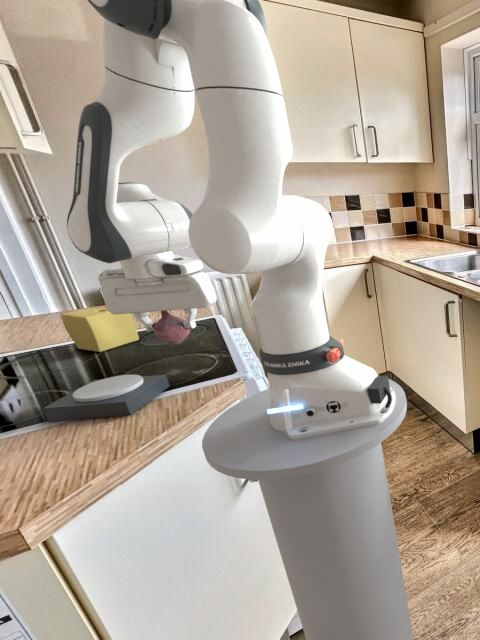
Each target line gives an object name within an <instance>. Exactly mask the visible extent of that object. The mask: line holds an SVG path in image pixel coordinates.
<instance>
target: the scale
mask: <svg viewBox="0 0 480 640" xmlns="http://www.w3.org/2000/svg"><path fill="white" fill-rule="evenodd" d="M170 387H171V385H170V382H169V380H168V376H167V374H156V375H143V376H141V375H139V374H122V375H115V376H110V377H106V378H102V379H92V380H91V381H90V382H88V383H86V384H84V385H83V386H81V387H79V388H77V389H75V390H73V391H71V392H69V393H68V394H66V395H64V396H63V397H61V398H58V399H57V400H55V401H53V402H51V403H49V404H47V405H46V406H44V407H42V412H43V414H44V415H45V418H46V419H47V422H48V423H49V422H59V421H71V420H74V421H75V420H84V419H95V418H96V419H97V418H108V417H119V416H120V417H121V416H131V415H132V414H134V413H135V412H137V411H138V410H139V409H141V408H142V407H143V406H145V405H146V404H147V403H149V402H150V401H151V400H153V399H154V398H156V397H157V396H159V395H160V394H161V393H162V392H164V391H166V390H167V389H168V388H170Z"/></svg>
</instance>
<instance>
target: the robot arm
mask: <svg viewBox="0 0 480 640" xmlns="http://www.w3.org/2000/svg"><path fill="white" fill-rule="evenodd" d="M87 1H88V3H89V4H90V5H91V6H92V7H93V9H94V10H95V11H96V12H97V13H98V14H99V15H100V16H101V17H102V18H103V29H102V31H103V32H102V44H103V45H102V48H103V51H102V52H103V63H104V80H103V83H102V87H101V89H100V92H99V94H98V96H97V97H96V99H94V101H92V102H91V103H89V104H87V105H84V107H83V109H82V111H81V114H80V118H79V124H78V129H77V138H76V139H77V140H76V150H75V151H76V152H75V165H74V179H73V180H74V182H73V193H72V201H71V204H70V207H69V211H68V213H67V218H66V228H67V233H68V236H69V238H70V239H69V240H70V241H71V243H72V245H73V246H74V247H75V249H77V251H79V252H80V253H82V254H83V255H85V256H88V257H89V258H92V259H94V260H97V261H99V262H102V263H106V264H115V263H118V262H119V264H120V265H119V266H120V267H121V268H116V269H104V270H103V271H102V272H101V273H100V274H99V275H98V278H97V279H98V283H99V284H100V287H101V293H102V299H103V302H104V305H105V307H106V308H107V310H108V311H109V312H111V313H112V314H128V313H130V314H133V315H134V318H135V319H136V320H137V321H139V323H141V324H142V325H144V328H145V330H146V332H147V333H155V332H154V326H155V324H156V322H157V321H153V320H152V319H151V318H150V317H149V315H150V314H149V313H152V312H161V311H167V312H168V311H179V310H183V312H184V314H185V315H187V317H186V319H185V320H186V321H183V325H184V328H185V329H190V330H191V329H195V328H196V327H197V323H196V320H195V319H196V317H197V314H198V309H204V308H205V309H206V308H210V307H212V306H214V305H216V303H217V300H218V295H217V293H216V291H215V287H214V285H213V282H212V280H211V278H210V276H209V275H208V274H207V273H205V272H204V271H202V270H203V269H204V267H205V266H207V267H208V268H210V269H211V270H213V271H215V272H218V273H221V274H224V275H251V274H258V273H261V278H260V283H259V284H260V285H259V288H258V290H257V292H256V294H255V295H254V297H253V299H252V302H251V307H250V308H251V309H250V310H251V315H252V318H253V322H254V323H253V324H254V327H255V330H256V334H257V338H258V342H259V346H260V348H259V350H258V353H259V356H260V357H259V358H260V363H261V367H262V370H263V373H264V376H265V378H266V379H267V381H268V389H270V400H271V409H268V410H267V412H268V414H270V425H271V427H272V428H274V429H275V430H277V431H280V432H283V433H285V434H286V435H287V437H288V438H289V439H290V440H299V439H304V438H309V437H315V436H320V435H325V434H330V433H336V432H341V431H346V430H352V429H357V428H362V427H367V426H373V425H377V424H380V423H382V422H383V421H384V420H386V419H387V418H388V417H389V415H390V414H391V413H392V411H393V409H394V406H395V402H396V396H395V392H394V390H393V389H392V388H391V387H390V386H389V379H390V378H389V376H388V375H379V374H378V372H377V371H376V370H375V369H374V368H373V367H371V366H369V365H368V364H367V365H366V364H364V363H362V362H360V361H358V360H356V359H354V358H352V357H349V356H348V355H346V354H345V351H344V345H345V342H344V338H343V337H341V338H340V340H337V339H335V338H334V337H332V336H331V335H330V332H329V331H330V330H329V327H328V321H327V315H326V310H325V303H324V293H323V290H324V289H323V287H324V286H323V285H324V284H323V283H324V271H325V262H326V261H325V260H326V254H327V250H328V248H329V245H330V243H331V242H332V239H333V236H334V224H333V220H332V217H331V215H330V213H329V212H328V211H327V209H326V208H325V206H323V205H322V204H320V203H319V202H317V201H316V200H313V199H310V198H308V197H304V196H299V195H295V194H283V185H284V184H283V183H284V176H285V171H286V168H287V166H288V165H289V163H290V162H291V160H292V158H293V155H294V146H293V139H292V135H291V131H290V125H289V120H288V113H287V108H286V103H285V97H284V92H283V88H282V83H281V80H280V76H279V72H278V71H279V70H278V68H277V65H276V61H275V58H274V54H273V53H272V49H271V46H270V43H269V40H268V38H267V23H266V17H265V14H264V13H265V12H264V10H263V6H262V5H261V3H260V1H259V0H87ZM195 98H196V100H195ZM195 101H197V105H198V109H199V113H200V118H201V123H202V128H203V132H204V136H205V140H206V146H207V151H208V152H207V153H208V176H207V182H206V189H205V193H204V195H203V198H202V201H201V203H200V204H199V206H198V207H197V209H196V210H195V211H194V212H192V211H191V210H190V209H189V208H187V206H185V205H184V204H182V203H181V202H179V201H176V200H170V199H167V198H163V197H161V196H159V195H157V194H155V193H153V192H152V190H151V189H150V188H149V186H147V185H145V184H143V183H140V182H130V181H129V182H128V181H127V182H120V181H119V180H120V171H121V166H122V163H123V162H124V160H125V159H126V158H127V157H128V156H129V155H130V154H132V153H133V152H136V151H137V150H139V149H141V148H143V147H147V146H148V145H149V146H150V145H151V144H155V143H159V142H162V141H166V140H169V139H171V138H174V137H177V136H178V135H180V134H181V133H183V132H184V131H185V130H186V129H188V128H189V127H190V125H191V124H192V121H193V120H194V119H193V118H194V114H195V105H196V103H195ZM188 248H192V250H193V252H194V253H195V255H196V256H197V257H198V259H196V258H191V257H187V256H183V255H179V254H175V253H174V252H177V251H182V250H185V249H188ZM204 265H205V266H204Z"/></svg>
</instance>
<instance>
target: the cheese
mask: <svg viewBox="0 0 480 640" xmlns="http://www.w3.org/2000/svg"><path fill="white" fill-rule="evenodd" d="M61 320H62V323H63V326H64V328H65V331H66V332H67V334H68V335H69V337H70V338H71V340H72V342H73V343H74V344H75V346H76V348H77V349H78V350H83V351H91V352H98V353H101V352H105V351H108V350H112V349H115V348H118V347H121V346H123V345H128V344H130V343H133V342H137V341H139V340H140V337H139V334H138V331H137V327H136V324H135V322H134V320H133V316H132V313H128V314H112V313H111V312H109V311H108V310H107V308H106V306H105V307H91V308H86V309H80V310H73V311H69V312H64V313H62V314H61Z"/></svg>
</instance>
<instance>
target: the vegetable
mask: <svg viewBox="0 0 480 640" xmlns="http://www.w3.org/2000/svg"><path fill="white" fill-rule="evenodd" d="M160 314H161V318H160V319H158V320H157V321H155V322H156V324H155V326H154V332H153V333H154V334H155V336H156V337H157V338H158V339H160V340H161V341H163V342H166V343H168V344H171V345H175V346H178V345H181V343H182V342H183V341H184V340H185V339H186V338H187V337H188V336H189V335H190V332H191V329H185V328H184V325H183V321H186V320H187V319H184V318H183V317H181V316H180V317H179V316H178V315H174V314H171V313H170V312H169V311H168V310H167V311H160Z"/></svg>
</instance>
